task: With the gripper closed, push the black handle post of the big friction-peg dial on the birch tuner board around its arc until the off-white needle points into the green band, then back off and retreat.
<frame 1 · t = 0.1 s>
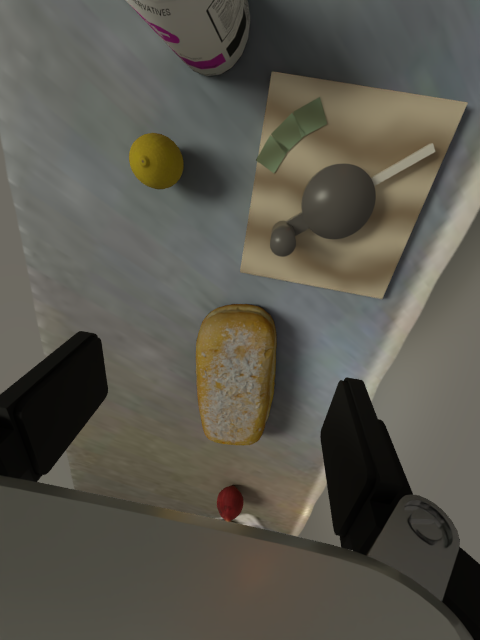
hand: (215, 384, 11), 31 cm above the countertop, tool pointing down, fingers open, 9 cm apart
bread: (237, 367, 50), on the countertop
supplement can: (211, 27, 30), on the countertop
peg dial: (349, 199, 31), point 5 cm above the countertop, hinge at -50.0°
onion: (232, 485, 66), on the countertop
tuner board: (333, 200, 35), on the countertop
lemon: (170, 162, 36), on the countertop
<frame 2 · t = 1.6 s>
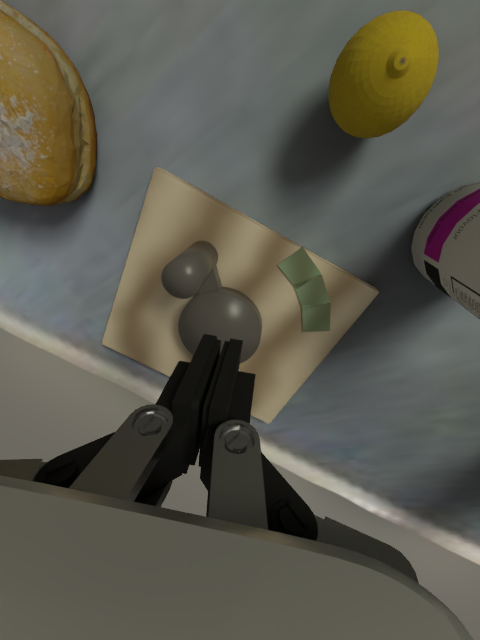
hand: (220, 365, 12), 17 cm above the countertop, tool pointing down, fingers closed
supplement can: (460, 235, 24), on the countertop
peg dial: (218, 350, 26), point 5 cm above the countertop, hinge at -50.0°
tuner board: (225, 316, 30), on the countertop
lemon: (361, 98, 21), on the countertop
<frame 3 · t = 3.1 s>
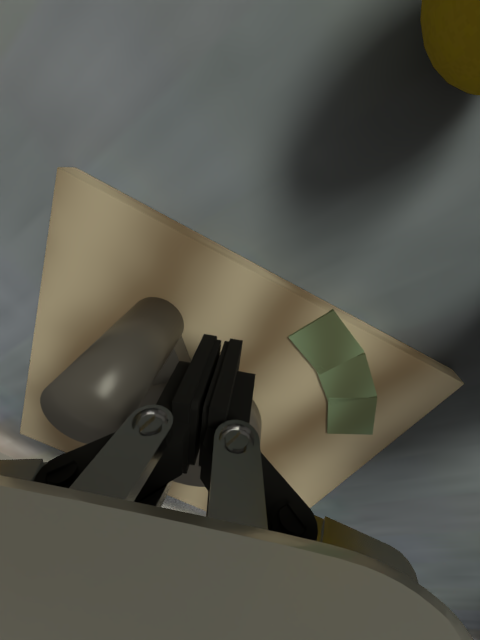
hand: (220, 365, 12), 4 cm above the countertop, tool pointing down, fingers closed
peg dial: (188, 478, 15), point 5 cm above the countertop, hinge at -49.9°, touching gripper
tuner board: (204, 399, 19), on the countertop
lemon: (469, 19, 10), on the countertop
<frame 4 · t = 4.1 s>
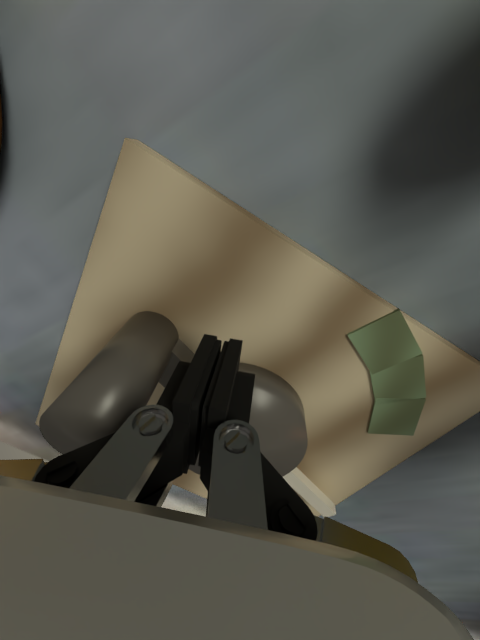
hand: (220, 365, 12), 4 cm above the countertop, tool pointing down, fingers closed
peg dial: (242, 475, 15), point 5 cm above the countertop, hinge at -20.4°, touching gripper
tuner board: (239, 395, 19), on the countertop
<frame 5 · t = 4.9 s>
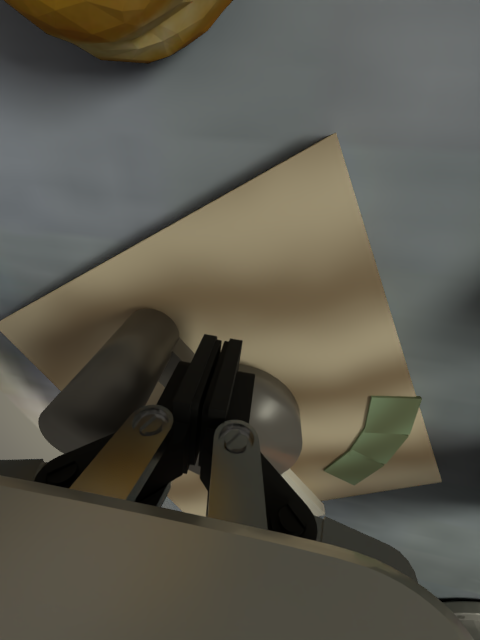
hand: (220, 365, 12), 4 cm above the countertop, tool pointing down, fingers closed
peg dial: (236, 475, 15), point 5 cm above the countertop, hinge at 8.9°, touching gripper
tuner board: (236, 395, 19), on the countertop
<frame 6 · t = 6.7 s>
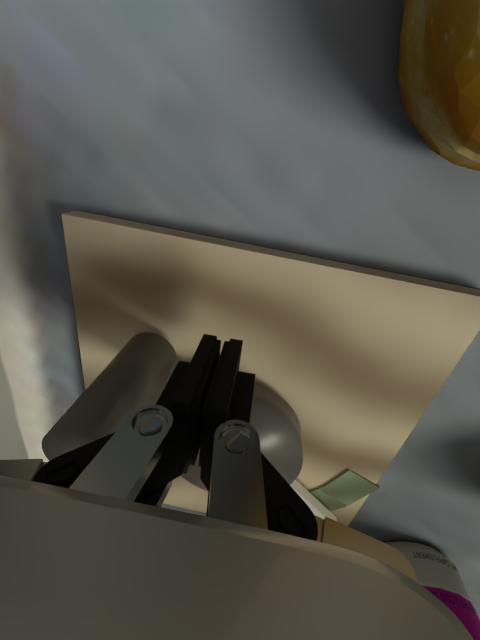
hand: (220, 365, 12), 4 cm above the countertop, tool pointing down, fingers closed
supplement can: (400, 559, 26), on the countertop
peg dial: (239, 490, 15), point 5 cm above the countertop, hinge at 50.4°
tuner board: (238, 409, 19), on the countertop
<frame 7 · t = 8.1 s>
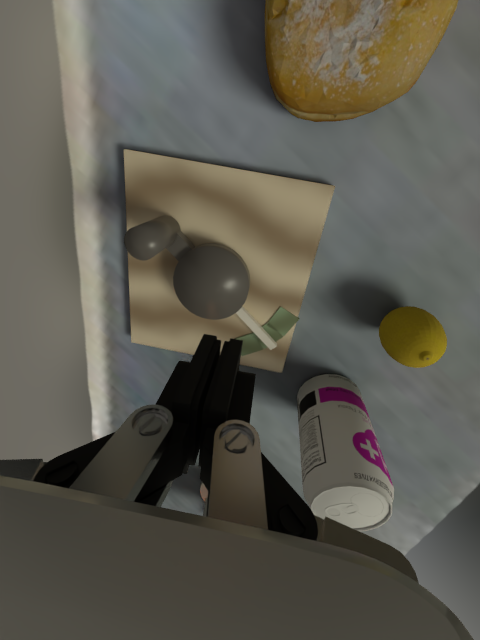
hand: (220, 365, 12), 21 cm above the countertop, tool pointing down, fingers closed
supplement can: (327, 393, 39), on the countertop
peg dial: (214, 298, 29), point 5 cm above the countertop, hinge at 50.4°
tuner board: (217, 274, 33), on the countertop
lemon: (395, 316, 33), on the countertop
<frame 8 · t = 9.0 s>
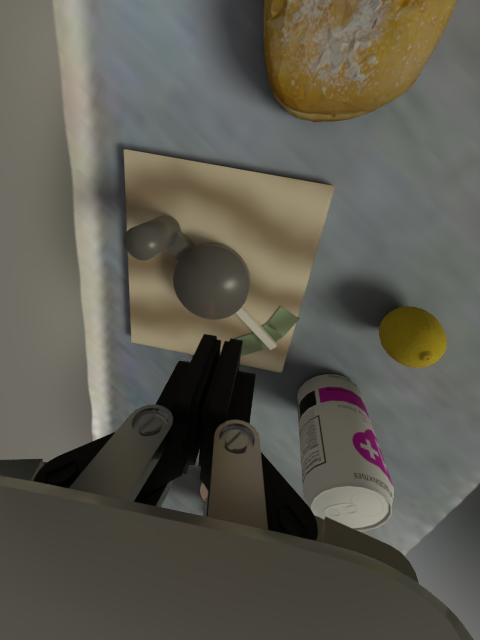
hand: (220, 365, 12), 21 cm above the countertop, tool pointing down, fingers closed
supplement can: (327, 393, 39), on the countertop
peg dial: (214, 298, 29), point 5 cm above the countertop, hinge at 50.4°
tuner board: (217, 274, 33), on the countertop
lemon: (395, 316, 33), on the countertop
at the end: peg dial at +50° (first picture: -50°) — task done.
